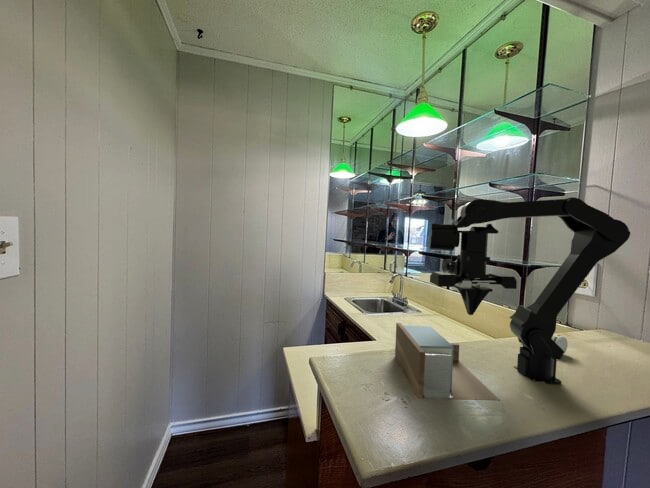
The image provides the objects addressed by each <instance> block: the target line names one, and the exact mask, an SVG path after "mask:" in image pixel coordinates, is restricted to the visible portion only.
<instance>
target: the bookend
mask: <svg viewBox="0 0 650 488" xmlns="http://www.w3.org/2000/svg"><path fill="white" fill-rule="evenodd" d="M451 360H452V355H451V354H443V353H425V369H424V391H423V396H424V398H423V399H437V398H445V399H444V400H454V399H453V397H452V396H451V394H450V380H451Z"/></svg>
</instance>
